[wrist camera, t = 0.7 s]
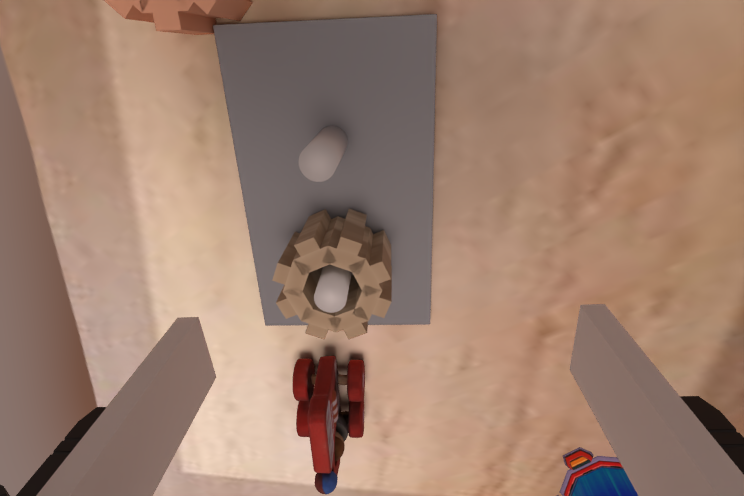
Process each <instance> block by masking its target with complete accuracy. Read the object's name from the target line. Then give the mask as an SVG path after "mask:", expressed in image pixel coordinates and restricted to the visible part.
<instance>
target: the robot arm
mask: <svg viewBox="0 0 744 496" xmlns="http://www.w3.org/2000/svg"><path fill="white" fill-rule="evenodd" d="M570 371H571V373H572V375H573V376H574V378H575V380H576V382H577V384H578V386H579V387H580V389H581V391H582V393H583V395H584V397H585V399H586V400H587V402H588V404H589V406H590V408H591V410H592V411H593V413H594V415H595V417H596V419H597V421H598V422H599V424H600V426H601V428H602V430H603V432H604V433H605V435H606V437H607V439H608V441H609V443H610V445H611V446H612V448H613V450H614V452H615V454H616V456H617V457H618V459H619V461H620V463H621V465H622V467H623V468H624V470H625V472H626V474H627V476H628V478H629V480H630V481H631V483H632V485H633V487H634V489H635V491H636V492H637V494H638V496H744V438H743V436H742V435H741V434H740V433H737V432H736V429H735V427H734V426H733V425H732V424H731V423H730V422H729V421H728V420H727V418H726V417H725V416H724V415H723V414H722V413H721V412H720V411H719V410H717V409H716V408H715V407H713V406H712V405H710V404H709V403H707V402H706V401H704V400H703V399H702V398H700V397H699V396H682V397H680V396H679V395H678V394H677V392H676V391H675V390H674V389H673V387H672V386H671V385H670V384H669V383H668V381H667V380H666V379H665V378H664V376H663V375H662V374H661V373H660V372H659V370H658V369H657V368H656V367H655V365H654V364H653V363H652V362H651V361H650V359H649V358H648V357H647V356H646V354H645V353H644V352H643V351H642V349H641V348H640V347H639V346H638V345H637V343H636V342H635V341H634V340H633V338H632V337H631V336H630V335H629V334H628V332H627V331H626V330H625V329H624V327H623V326H622V325H621V324H620V323H619V321H618V320H617V319H616V318H615V316H614V315H613V314H612V313H611V311H610V310H609V309H608V308H607V307H606V305H605V304H591V305H580V311H579V317H578V323H577V329H576V335H575V341H574V346H573V352H572V358H571V364H570ZM215 378H216V374H215V371H214V368H213V364H212V361H211V358H210V354H209V351H208V347H207V344H206V341H205V337H204V334H203V331H202V327H201V324H200V321H199V317H187V318H177V319H176V321H175V322H174V323H173V324H172V326H171V327H170V328H169V329H168V331H167V332H166V333H165V334H164V336H163V337H162V338H161V339H160V341H159V342H158V343H157V344H156V346H155V347H154V348H153V349H152V351H151V352H150V353H149V355H148V356H147V357H146V358H145V360H144V361H143V362H142V363H141V365H140V366H139V367H138V368H137V370H136V371H135V372H134V373H133V375H132V376H131V377H130V378H129V380H128V381H127V382H126V383H125V385H124V386H123V387H122V388H121V390H120V391H119V392H118V394H117V395H116V396H115V397H114V399H113V400H112V401H111V402H110V404H109V405H108V406H107V407H97V408H95V409H94V410H93V411H91V412H90V413H89V414H88V415H86V416H85V417H84V418H83V419H81V420H80V421H78V423H77V424H76V425H75V426H74V427H73V428H72V430H71V431H70V432H69V433H68V435H67V436H66V437H65V440H64V441H62V442H61V443H60V444H59V445H58V446H57V448H56V449H55V450H54V453H53V454H52V455H50V456H49V457H48V458H47V459H46V461H45V462H44V463H43V464H42V465H41V467H40V468H39V469H38V470H37V471H36V473H35V474H34V475H33V476H32V477H31V478H30V480H29V481H28V482H27V483H26V485H25V486H24V487H23V488H22V489H21V490H20V492H19V493H18V494H17V495H16V496H153V494H154V492H155V490H156V488H157V487H158V485H159V483H160V481H161V479H162V477H163V475H164V473H165V472H166V470H167V468H168V466H169V464H170V462H171V460H172V459H173V457H174V455H175V453H176V451H177V449H178V447H179V445H180V444H181V442H182V440H183V438H184V436H185V434H186V432H187V431H188V429H189V427H190V425H191V423H192V421H193V419H194V418H195V416H196V414H197V412H198V410H199V408H200V406H201V404H202V403H203V401H204V399H205V397H206V395H207V393H208V391H209V390H210V388H211V386H212V384H213V382H214V380H215ZM0 496H10V495H9V494H8V492H7V491H6V489H5V488H4V486H2V485H0Z"/></svg>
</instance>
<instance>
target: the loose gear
mask: <svg viewBox="0 0 744 496" xmlns="http://www.w3.org/2000/svg"><path fill="white" fill-rule="evenodd" d="M104 1H105V2H106V3H108V4H109V5H110V6H111V7H112V8H113V9H114V10H116V11H117V12H118V13H119V14H120V15H121V16H122V17H124V18H125V19H132V20H139V21H147V22H155V27H156V31H163V32H174V33H184V34H194V35H203V34H214V29H213V25H216V20H215V19H218V18H227V19H231V20H236V21H240V20H241V19H242V17H243V16H244V15H245V13H246V12H247V10H248V9H249V7H250V6H251V4H252V2H251V1H250V0H104Z"/></svg>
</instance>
